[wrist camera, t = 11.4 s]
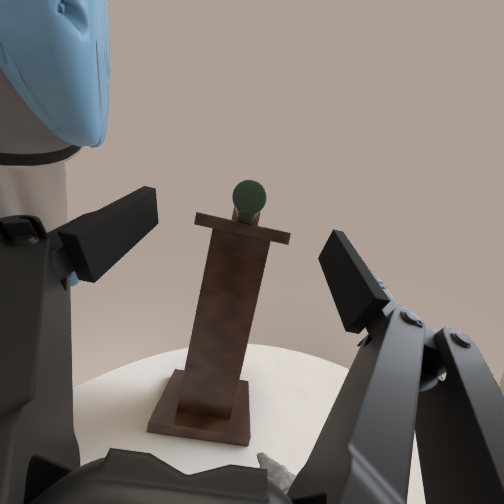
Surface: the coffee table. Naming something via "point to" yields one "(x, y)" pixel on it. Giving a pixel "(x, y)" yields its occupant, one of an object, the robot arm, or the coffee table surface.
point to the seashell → (276, 472)
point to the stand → (219, 338)
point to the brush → (248, 202)
